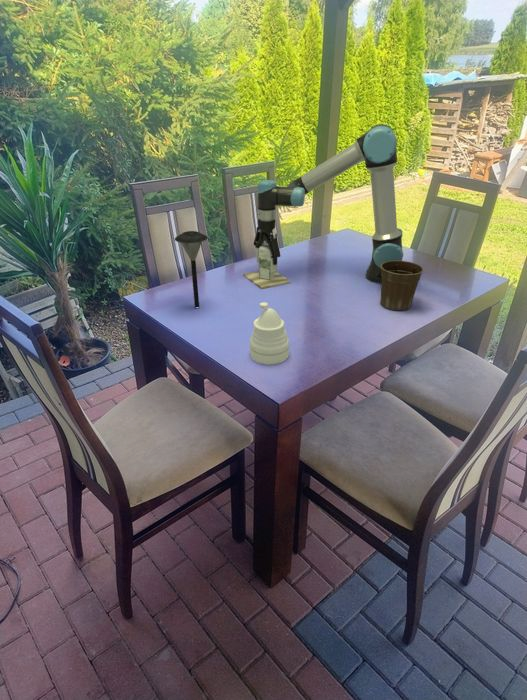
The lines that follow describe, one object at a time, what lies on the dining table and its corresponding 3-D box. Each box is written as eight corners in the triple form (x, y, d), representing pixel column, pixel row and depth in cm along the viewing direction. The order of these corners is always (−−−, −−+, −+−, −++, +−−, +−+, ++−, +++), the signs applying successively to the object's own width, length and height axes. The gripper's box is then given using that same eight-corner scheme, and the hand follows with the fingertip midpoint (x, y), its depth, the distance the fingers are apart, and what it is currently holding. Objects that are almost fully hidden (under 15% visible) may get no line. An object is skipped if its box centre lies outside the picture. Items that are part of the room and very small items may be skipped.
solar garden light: (205, 316, 172) (199, 239, 156) (176, 312, 175) (167, 236, 159) (217, 303, 182) (212, 230, 166) (189, 299, 185) (183, 227, 169)
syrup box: (274, 276, 205) (275, 245, 197) (270, 280, 200) (270, 249, 193) (263, 274, 207) (263, 243, 199) (258, 278, 202) (258, 247, 194)
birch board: (290, 282, 200) (290, 280, 200) (261, 289, 194) (261, 287, 194) (270, 270, 214) (270, 268, 213) (243, 275, 208) (243, 273, 207)
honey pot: (243, 360, 144) (242, 310, 135) (258, 341, 155) (258, 294, 145) (281, 367, 140) (282, 316, 131) (293, 348, 151) (295, 300, 142)
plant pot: (384, 293, 190) (390, 257, 182) (421, 302, 182) (429, 265, 174) (368, 306, 179) (373, 268, 171) (407, 317, 171) (415, 277, 163)
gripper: (245, 213, 198) (246, 259, 209) (273, 227, 179) (272, 276, 190) (260, 211, 201) (260, 256, 212) (289, 224, 182) (287, 273, 193)
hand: (266, 266), depth 201 cm, fingers open, 13 cm apart
